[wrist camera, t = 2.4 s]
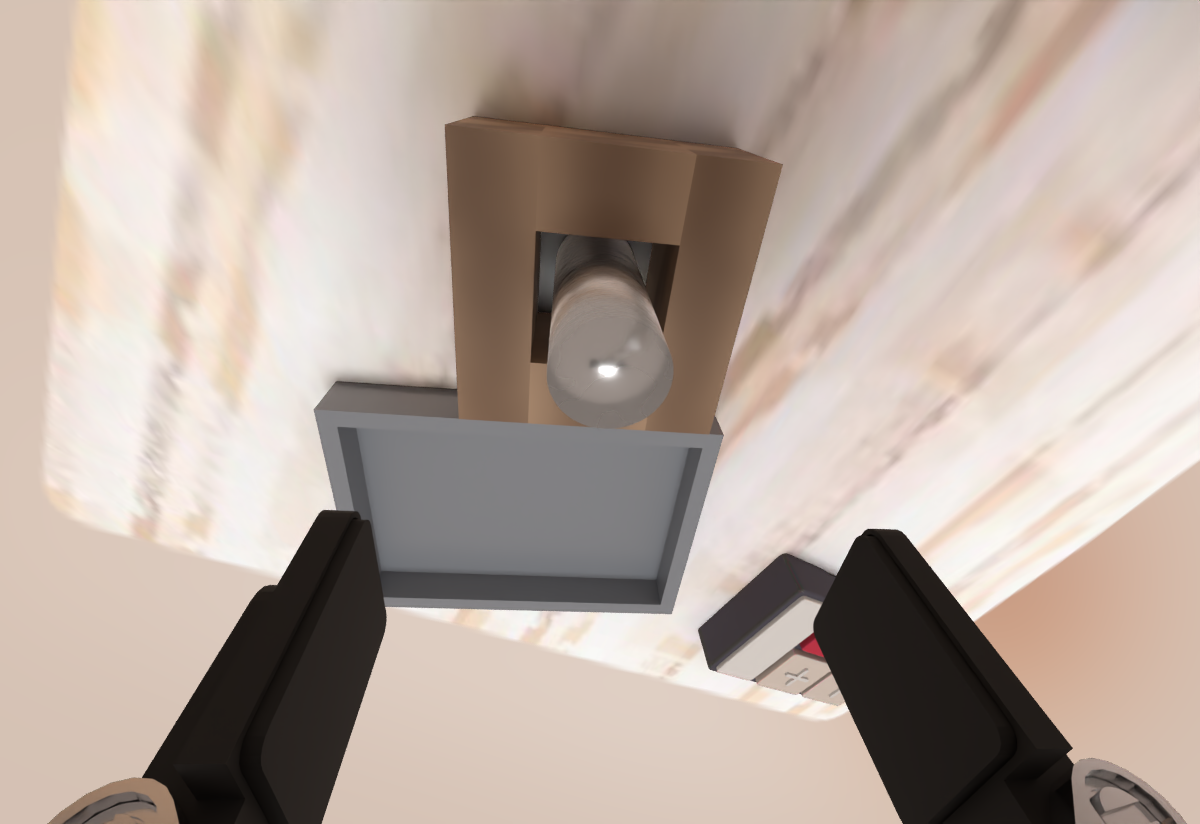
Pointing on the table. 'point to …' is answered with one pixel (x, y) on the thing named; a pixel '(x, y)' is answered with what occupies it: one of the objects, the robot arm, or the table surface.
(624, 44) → the table surface
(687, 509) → the tray
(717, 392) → the block
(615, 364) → the pin
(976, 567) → the table surface
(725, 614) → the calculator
